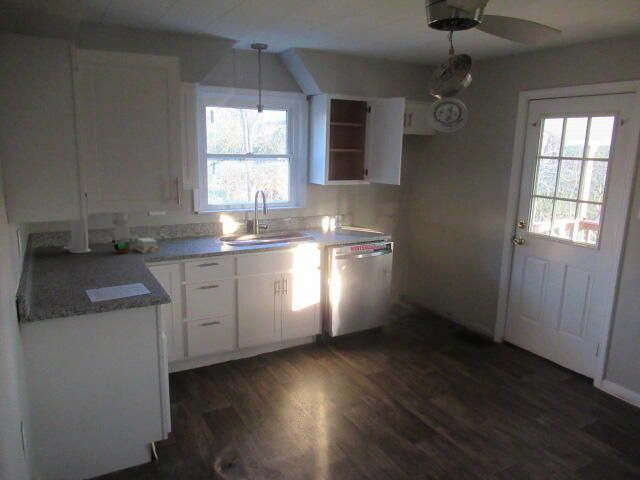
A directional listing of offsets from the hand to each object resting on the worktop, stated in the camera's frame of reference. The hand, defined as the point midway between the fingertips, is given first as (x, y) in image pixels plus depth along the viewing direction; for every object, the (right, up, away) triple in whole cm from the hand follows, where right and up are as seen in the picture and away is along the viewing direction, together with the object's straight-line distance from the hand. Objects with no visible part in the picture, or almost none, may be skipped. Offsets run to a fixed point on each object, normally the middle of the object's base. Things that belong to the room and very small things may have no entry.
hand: (121, 249), depth 309 cm
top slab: (+13, +2, +11) cm, 17 cm away
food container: (-1, -3, 0) cm, 3 cm away
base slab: (+13, -2, +12) cm, 17 cm away
